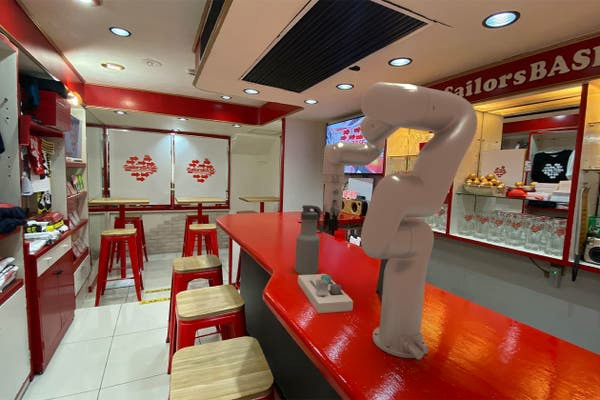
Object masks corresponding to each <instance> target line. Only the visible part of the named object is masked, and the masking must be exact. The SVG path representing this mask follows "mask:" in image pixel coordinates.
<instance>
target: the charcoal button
mask: <svg viewBox="0 0 600 400" xmlns="http://www.w3.org/2000/svg"><path fill="white" fill-rule="evenodd" d="M341 290H342V285H340V284H337V283H335V284H332V285H330V295H331V296H333V295H341Z"/></svg>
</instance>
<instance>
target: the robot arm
mask: <svg viewBox="0 0 600 400" xmlns="http://www.w3.org/2000/svg"><path fill="white" fill-rule="evenodd" d="M360 108H361V112H362V114H363V115H364V117H363V119H362V120H361V122H360V126H359V129H360V132H361V135H362V137H363V139H364V140H366V142H365V143H357V142H349V141H347V142H345V141H336V142H334V143H331V144H327V145H325V146H324V149H323V150H324V151H323V153H324V154H323V164H322V166H323V167H322V182H321V183H322V185H324V192H323V193H324V194H323V210H324V211H323V222H322V224H323V225H322V226H324V227H325V226H328V228H327V229H328V231H331V232H337V231H339V219H340V216H339V215H340V214H342V211H343V186H344V184H345V169H346V168H345V167H346V166H347V167H348V166H349V167H359V168H361V167H366V166H368V165H370V164H372V163H373V162H374V161H375V160H377V159H378V158H379V157H380V156H381V155H382V154H383V152H384V150H385V149H384V148H385V146H386V140H387V139H388V138H390V137H391V136H392V135H393V134H394V133H395V132H397V131H398V130H399V129H401V128H402V129H409V130H415V131H424V132H430V133H431V132H432V134H433V136H432V137H431V138H430V139H429V140H428V141H427V142H425V144H424V145H423V147H422V148H421V149H420V151H419V152H418V153H417V157H416V160H415V163H414V164H413V167H412V168H411V170H410V172H409V173H403V172H400V173H399V172H397V173H396V172H395V173H389V174H387V175H385V176H384V177H382V178H381V179H380V180H379V182H378V183H377V184H376V186H375V187H374V190H373V193H372V195H371V199H370V202H369V204H368V208H367V211H366V214H365V218H364V220H363V224H362V228H361V233H360V245H361V249H362V251H364V253H365V255H367V256H368V257H369V258H372V259H374V260H381V259H389V260H388V262H387V264H386V267H385V271H384V280H383V292H382V298H381V304H380V305H381V307H380V320H379V321H380V323H379V326H378V327H376V328H375V329H374V330H373V332H372V341H373V342H374V344H375V345H376V347H378V348H379V349H380V350H382V351H384V352H386V353H387V354H389V355H392V356H395V357H399V358H404V359H416V360H421V359H423V357H424V355H425V354H427V353H428V352H429V348H428V347H427V342H426V341H425V339H424V335H423V334H422V323H423V322H422V319H423V309H424V300H425V299H424V297H425V287H426V279H427V271H428V265H429V260H430V258H431V253H432V250H433V247H434V242H435V236H434V235H435V234H434V231H433V229H432V227H431V226H430V224H429V223H428V222H427V221H426V220H424V219H422V218H424V217H425V218H427V217H431V216H435V215H436V214H437V213H439V211H440V210H441V208H442V207H443V206H444V202H445V200H446V198H447V196H448V194H449V192H450V189H451V187H452V185H453V182H454V180H455V178H456V175H457V173H458V170H459V168H460V165H461V163H462V161H463V160H464V157H465V155H466V154H467V151H468V150H469V148H470V146H471V144H472V143H473V140H474V138H475V136H476V133H477V129H478V116H477V113H476V110H475V108H474V106H473V104H471V103H470V101H468V100H467V99H465V97H462V96H460V95H457V94H456V93H451V92H447V91H444V90H439V89H434V88H429V87H425V86H420V85H416V84H411V83H410V84H409V83H394V82H384V81H379V82H375V83H373V84H371V85H370V86H369V87H368V88H366V90H365V92H364V93H363V95H362V98H361V100H360Z"/></svg>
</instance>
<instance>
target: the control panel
mask: <svg viewBox="0 0 600 400" xmlns="http://www.w3.org/2000/svg"><path fill="white" fill-rule="evenodd" d="M322 275H327V274H326V273H321V274H319V273H316V274H313V275H302V274H298V276H297V284H298V285H299V287H300V289H301V290H302V292H303V293H304V295H305V296H306V297H307V299H308V300H309V302H310V303H311V304H312V306H313V307H314V310H315V311H316V312H317V314H326V313H328V314H329V313H337V312H350V311H351V312H352V311H353V307H354V306H353V305H354V300H352V298H351V297H350V296H349V295H348V294H347V293H346V292H344V290H343V289H341V295H333V296H331V295H330V285H332V284H336V282H334V280H332V279H331V284H328V295H322V296H318V294H317V293H316V280H321V276H322Z"/></svg>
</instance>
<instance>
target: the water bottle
mask: <svg viewBox="0 0 600 400" xmlns="http://www.w3.org/2000/svg"><path fill="white" fill-rule="evenodd" d="M311 210H312V211H311ZM322 212H323V211H322V209H321V208H320V207H319V206H318V205H317V206H316V205H313V204H304V205H302V211H301V213H300V221H301V222H300V233H299V234H298V235H297V236H296V238H295V239H296V241H295V242H296V243H295V257H294V258H295V261H294V271H295V272H296V273H297V274H298V275H315V274H318V273H319V259H320V245H321V241H320V240H321V239H320V236H319V235H321V234H322V233H323V226H324V225H323V222H322V221H321V218H322V216H323V213H322ZM318 224H319V225H320V227H319V228H320V229H319V230H320V231H318V230H317V229H318V227H317V226H318ZM318 234H319V235H318Z"/></svg>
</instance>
